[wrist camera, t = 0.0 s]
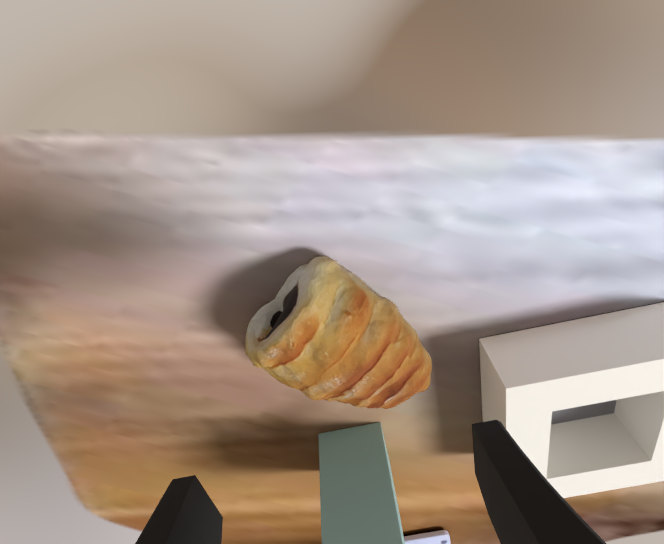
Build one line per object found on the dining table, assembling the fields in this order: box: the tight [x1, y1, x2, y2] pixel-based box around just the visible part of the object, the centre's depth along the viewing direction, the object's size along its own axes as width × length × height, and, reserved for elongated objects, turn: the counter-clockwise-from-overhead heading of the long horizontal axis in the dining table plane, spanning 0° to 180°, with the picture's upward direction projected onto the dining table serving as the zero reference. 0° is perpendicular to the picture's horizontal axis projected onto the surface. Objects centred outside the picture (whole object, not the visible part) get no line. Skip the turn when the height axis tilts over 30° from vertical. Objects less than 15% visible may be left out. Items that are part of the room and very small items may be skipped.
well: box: [479, 302, 664, 498], centre depth 23 cm, size 10×10×4 cm
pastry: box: [245, 256, 432, 409], centre depth 20 cm, size 9×7×4 cm
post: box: [319, 422, 405, 544], centre depth 23 cm, size 4×4×8 cm
